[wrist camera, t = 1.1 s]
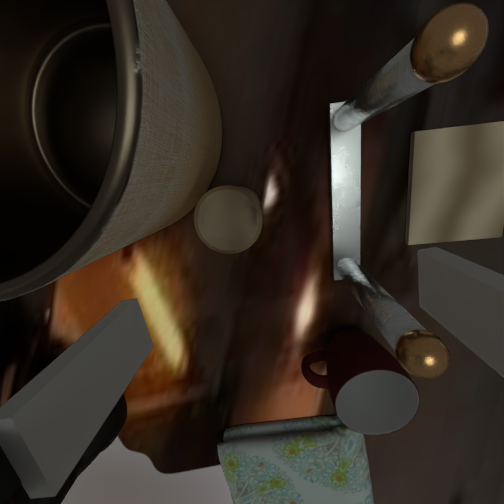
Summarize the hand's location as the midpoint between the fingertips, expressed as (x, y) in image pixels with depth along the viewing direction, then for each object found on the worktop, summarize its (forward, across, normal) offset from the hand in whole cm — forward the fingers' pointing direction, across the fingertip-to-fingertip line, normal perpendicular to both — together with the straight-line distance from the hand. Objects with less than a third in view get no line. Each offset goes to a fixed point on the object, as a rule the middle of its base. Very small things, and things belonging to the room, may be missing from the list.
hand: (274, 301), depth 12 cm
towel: (+20, -3, -38) cm, 43 cm away
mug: (+20, +6, -17) cm, 27 cm away
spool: (+20, -3, +3) cm, 20 cm away
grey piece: (+20, +9, +2) cm, 22 cm away
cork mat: (+20, +21, 0) cm, 29 cm away
